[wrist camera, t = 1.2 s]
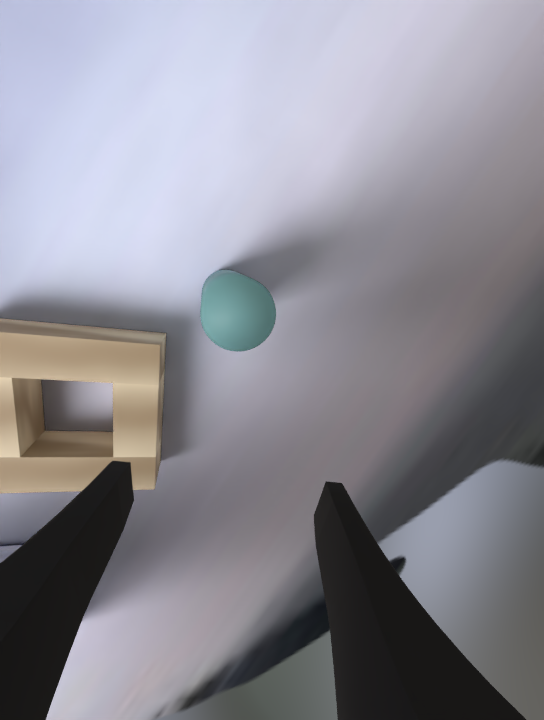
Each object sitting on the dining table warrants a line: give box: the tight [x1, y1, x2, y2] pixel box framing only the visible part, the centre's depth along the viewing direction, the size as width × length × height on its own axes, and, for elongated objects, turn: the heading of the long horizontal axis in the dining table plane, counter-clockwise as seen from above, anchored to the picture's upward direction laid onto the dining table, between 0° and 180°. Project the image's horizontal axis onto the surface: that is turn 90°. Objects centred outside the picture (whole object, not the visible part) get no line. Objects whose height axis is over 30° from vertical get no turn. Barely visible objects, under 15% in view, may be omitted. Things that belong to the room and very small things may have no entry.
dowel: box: [200, 270, 276, 351], centre depth 17 cm, size 3×3×8 cm
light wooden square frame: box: [0, 318, 166, 493], centre depth 19 cm, size 10×10×3 cm
